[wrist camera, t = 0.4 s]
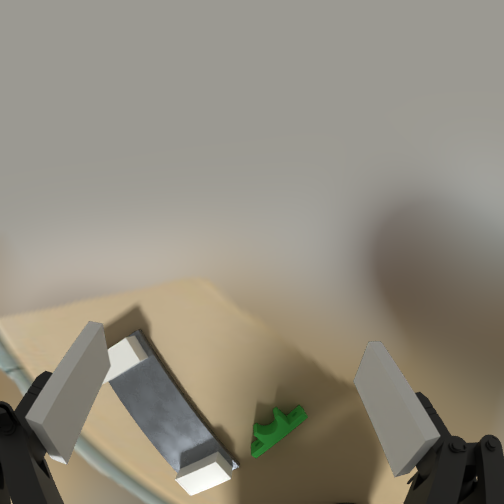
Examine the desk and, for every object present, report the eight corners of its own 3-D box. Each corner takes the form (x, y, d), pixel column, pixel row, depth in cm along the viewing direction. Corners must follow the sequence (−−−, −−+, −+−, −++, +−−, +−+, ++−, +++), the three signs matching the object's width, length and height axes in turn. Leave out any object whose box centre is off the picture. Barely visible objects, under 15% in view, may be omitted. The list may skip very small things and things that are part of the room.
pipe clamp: (288, 394, 43) (292, 402, 39) (303, 408, 42) (308, 417, 38) (240, 434, 41) (239, 445, 37) (255, 447, 41) (255, 459, 37)
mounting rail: (239, 463, 40) (238, 478, 35) (192, 484, 39) (187, 499, 34) (140, 329, 44) (128, 331, 39) (97, 357, 43) (83, 361, 38)
